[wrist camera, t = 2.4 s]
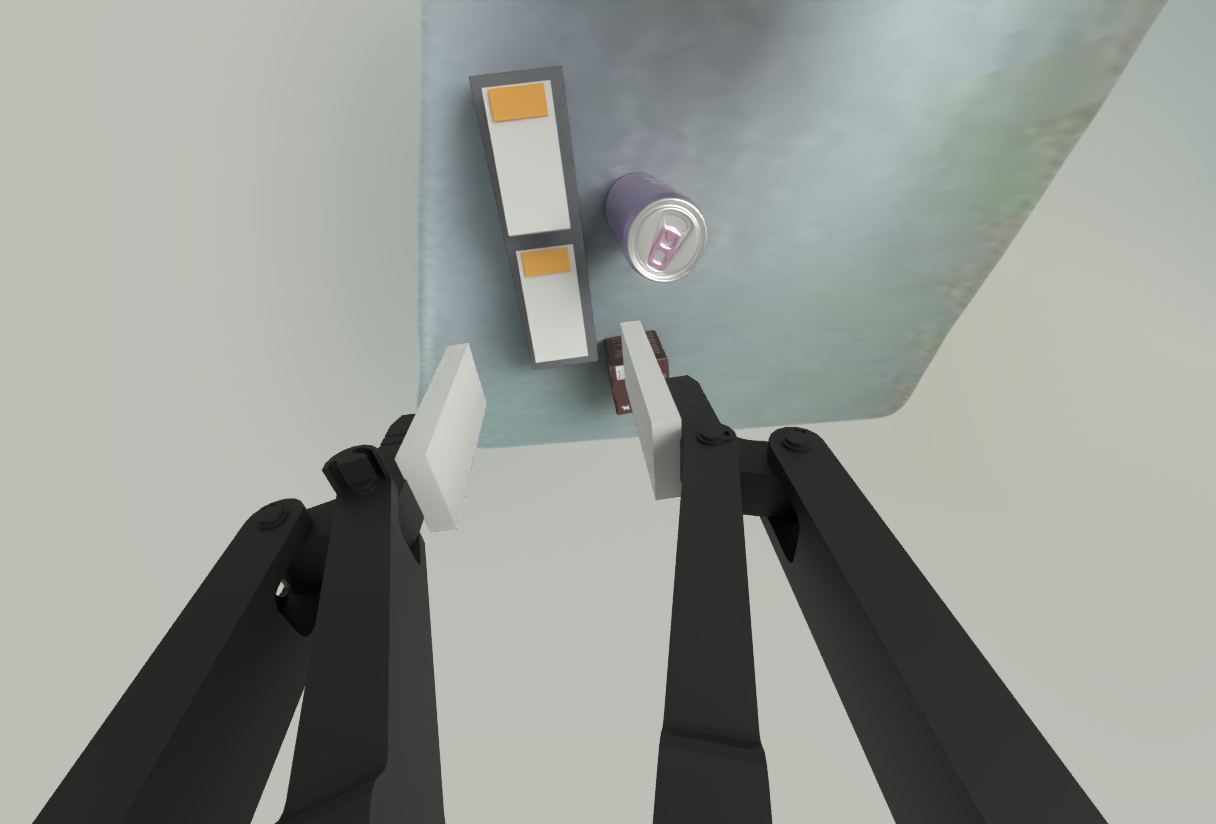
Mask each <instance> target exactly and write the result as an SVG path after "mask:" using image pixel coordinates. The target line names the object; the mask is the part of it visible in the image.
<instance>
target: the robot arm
mask: <svg viewBox="0 0 1216 824" xmlns="http://www.w3.org/2000/svg"><path fill="white" fill-rule="evenodd" d="M620 328H621V340H622V351H623V362H624V373H625V385H626V389H627V393H628V396H629V400H630V404H631V408H632V412H633V415H634V419H635V423H636V427H637V431H638V434H639V438H640V442H641V446H642V450H643V453H644V457H645V461H646V465H647V469H648V472H649V476H650V480H651V484H652V488H653V491H654V495H655V499H656V500H659V499H667V498H674V497H681V501H680V514H679V529H678V540H677V554H676V566H675V580H674V592H673V606H672V619H671V631H670V645H669V657H668V671H667V683H666V697H665V709H664V720H663V727H662V731H661V736H660V744H659V754H658V765H657V778H656V791H655V802H654V803H655V804H654V814H653V824H772V815H771V804H770V791H769V781H768V771H767V763H766V757H765V752H764V749H763V747H762V744H761V740H760V734H759V724H758V709H757V697H756V684H755V669H754V656H753V644H752V630H751V618H750V617H751V616H750V603H749V590H748V577H747V563H746V550H745V537H744V523H743V514H744V515H753V516H760V518H761V520H762V523H763V525H764V527H765V529H766V532H767V534H768V536H769V538H770V540H771V543H772V545H773V547H774V550H775V552H776V554H777V556H778V559H779V561H780V563H781V565H782V568H783V570H784V572H785V574H786V577H787V579H788V581H789V584H790V586H791V588H792V590H793V592H794V595H795V597H796V599H797V601H798V604H799V606H800V608H801V611H802V613H803V615H804V617H805V620H806V622H807V624H808V626H809V628H810V631H811V633H812V635H813V637H814V640H815V642H816V644H817V646H818V649H819V651H820V653H821V656H822V658H823V660H824V662H825V665H826V667H827V669H828V671H829V674H830V676H831V678H832V681H833V683H834V685H835V687H836V690H837V692H838V694H839V696H840V699H841V701H842V703H843V705H844V707H845V709H846V712H847V714H848V717H849V719H850V721H851V723H852V725H853V728H854V730H855V732H856V735H857V737H858V739H859V741H860V743H861V746H862V748H863V750H864V752H865V755H866V757H867V759H868V762H869V764H870V766H871V768H872V771H873V773H874V775H875V778H876V780H877V782H878V784H879V787H880V789H881V791H882V793H883V796H884V798H885V800H886V802H887V804H888V807H889V809H890V811H891V814H892V816H893V818H894V820H895V822H896V824H1108V823H1107V822H1106V820H1105V819H1104V818H1103V816H1102V815H1101V814H1100V812H1099V811H1098V809H1097V808H1096V807H1095V805H1094V804H1093V803H1092V801H1091V800H1090V799H1089V797H1088V796H1087V795H1086V793H1085V792H1084V790H1083V789H1082V788H1081V787H1080V785H1079V784H1078V782H1077V781H1076V780H1075V778H1074V777H1073V776H1072V774H1071V773H1070V772H1069V770H1068V769H1067V768H1066V766H1065V765H1064V764H1063V762H1062V761H1061V760H1060V758H1059V757H1058V756H1057V754H1056V753H1055V751H1054V750H1053V749H1052V748H1051V746H1050V745H1049V744H1048V742H1047V741H1046V739H1045V738H1044V737H1043V735H1042V734H1041V733H1040V731H1039V730H1038V729H1037V727H1036V726H1035V724H1034V723H1033V722H1032V720H1031V719H1030V718H1029V716H1028V715H1027V714H1026V713H1025V711H1024V710H1023V708H1022V707H1021V706H1020V704H1019V703H1018V702H1017V700H1016V699H1015V698H1014V697H1013V695H1012V694H1011V692H1010V691H1009V689H1008V688H1007V687H1006V685H1005V684H1004V683H1003V682H1002V680H1001V679H1000V677H999V676H998V675H997V673H996V672H995V671H994V669H993V668H992V667H991V665H990V664H989V663H988V661H987V660H986V659H985V657H984V656H983V655H982V653H981V652H980V650H979V649H978V648H977V646H976V645H975V644H974V642H973V641H972V640H971V638H970V637H969V636H968V634H967V633H966V632H965V630H964V629H963V628H962V626H961V625H960V623H959V622H958V621H957V619H956V618H955V617H954V615H953V614H952V613H951V611H950V610H949V609H948V607H947V606H946V605H945V603H944V602H943V601H942V599H941V598H940V597H939V595H938V594H937V593H936V591H935V590H934V589H933V587H932V586H931V584H930V583H929V582H928V580H927V579H926V578H925V576H924V575H923V574H922V573H921V571H920V570H919V568H918V567H917V566H916V564H915V563H914V562H913V560H912V559H911V558H910V556H909V555H908V553H907V552H906V551H905V550H904V548H903V547H902V545H901V544H900V543H899V541H898V540H897V539H896V538H895V536H894V535H893V533H892V532H891V531H890V529H889V528H888V527H887V526H886V524H885V522H884V521H883V520H882V518H881V517H880V516H879V514H878V513H877V512H876V510H875V509H874V508H873V506H872V505H871V504H870V502H869V501H868V500H867V498H866V497H865V496H864V494H863V493H862V492H861V490H860V489H859V488H858V486H857V485H856V484H855V482H854V481H853V479H852V478H851V477H850V475H849V474H848V473H847V471H846V470H845V469H844V467H843V466H842V465H841V463H840V462H839V461H838V459H837V458H836V456H835V455H834V454H833V453H832V451H831V450H830V448H828V446H827V444H826V443H825V442H824V440H823V439H822V438H820V436H818V435H817V434H816V433H814V432H812V431H809V430H807V429H803V428H798V427H784V428H780V429H777V430H776V431H774V432H773V433H771V435H770V437H769V441H767V442H766V441H754V440H746V439H742V438H738V437H737V436H736V434H735V432H734V431H733V430H732V429H731V428H730V427H728V426H726V425H723V424H721V423H720V421H719V420H718V418H717V416H716V414H715V412H714V410H713V408H712V407H711V405H710V403H709V401H708V400H707V397H706V396H705V394H704V393H703V390H702V388H701V386H700V384H699V383H698V382H697V381H696V380H694V379H693V378H691V377H690V376H688V375H686V376H679V377H672V378H664V376H663V374H662V372H661V369H660V367H659V364H658V362H657V360H656V357H655V355H654V352H653V350H652V348H651V345H650V343H649V341H648V338H647V336H646V333H645V331H644V329H643V326H642V324H641V321H640V320H637V321H630V322H622V323H620ZM486 405H487V403H486V400H485V396H484V393H483V390H482V386H481V383H480V380H479V376H478V373H477V370H476V367H475V363H474V360H473V357H472V353H471V350H470V347H469V343H464V344H456V345H449V346H448V347H447V349H446V351H445V353H444V355H443V357H442V359H441V361H440V364H439V366H438V368H437V370H436V372H435V374H434V376H433V378H432V381H431V383H430V385H429V387H428V389H427V391H426V393H425V395H424V398H423V400H422V402H421V404H420V406H419V408H418V410H417V413H416V414H409V415H402V416H401V417H400V418H399V419H397V420H396V421H395V422H394V423H393V424H392V425H391V426H390V428H389V429H388V432H387V433H386V435H385V438H384V439H383V441H382V443H381V447H379V448H376V447H374V446H372V445H360V446H354V447H351V448H348V449H346V450H343V451H341V452H339V453H338V454H336V455H334V456H333V457H332V458H331V459H329V461H328V462H326V463H325V465H324V467H323V469H322V471H323V473H324V474H325V476H326V477H327V479H328V481H329V482H330V484H331V486H332V487H333V489H334V491H335V492H336V494H337V496H336V499H335V500H332V501H329V502H326V503H323V504H320V505H318V506H315V507H312V508H309V509H306V508H305V506H304V505H303V503H302V502H301V501H300V500H297V499H283V500H279V501H276V502H273V503H270V504H269V505H266V506H264V507H263V508H261V509H260V510H259V511H257V512H256V513H254V514H253V515H252V516H251V517H250V518H249V519H248V520H247V521H246V522H245V523H244V525H243V526H242V527H241V529H240V530H239V532H238V533H237V535H236V536H235V538H234V539H233V540H232V542H231V543H230V544H229V546H228V547H227V549H226V550H225V551H224V553H223V554H222V556H221V557H220V559H219V560H218V561H217V563H216V564H215V566H214V567H213V569H212V570H211V571H210V573H209V574H208V576H207V577H206V578H205V580H204V581H203V583H202V584H201V585H200V587H199V588H198V590H197V591H196V593H195V594H194V596H193V597H192V598H191V600H190V601H189V603H188V604H187V605H186V607H185V608H184V610H183V611H182V612H181V614H180V615H179V617H178V618H177V620H176V621H175V622H174V624H173V625H172V627H171V628H170V629H169V631H168V632H167V634H166V635H165V637H164V638H163V639H162V641H161V642H160V644H159V645H158V646H157V648H156V649H155V651H154V652H153V654H152V655H151V656H150V658H149V659H148V661H147V662H146V663H145V665H144V666H143V668H142V669H141V670H140V672H139V673H138V675H137V676H136V678H135V679H134V680H133V682H132V683H131V685H130V686H129V687H128V689H127V690H126V692H125V693H124V694H123V696H122V697H121V699H120V700H119V702H118V703H117V704H116V706H115V707H114V709H113V710H112V711H111V713H110V714H109V716H108V717H107V719H106V720H105V722H104V723H103V724H102V726H101V727H100V729H99V730H98V731H97V733H96V734H95V735H94V737H93V738H92V740H91V741H90V743H89V744H88V746H87V747H86V748H85V750H84V751H83V752H82V754H81V755H80V757H79V758H78V760H77V761H76V762H75V764H74V765H73V767H72V768H71V769H70V771H69V772H68V774H67V775H66V777H65V778H64V779H63V781H62V782H61V784H60V785H59V787H58V788H57V789H56V791H55V792H54V793H53V795H52V796H51V798H50V799H49V801H48V802H47V803H46V805H45V806H44V808H43V809H42V810H41V812H40V813H39V815H38V816H37V818H36V819H35V820H34V822H33V823H32V824H250V823H251V821H252V818H253V815H254V813H255V811H256V808H257V806H258V803H259V801H260V798H261V795H262V793H263V790H264V788H265V785H266V783H267V780H268V778H269V775H270V773H271V770H272V768H273V765H274V763H275V760H276V758H277V755H278V752H279V750H280V748H281V745H282V742H283V740H284V738H285V735H286V732H287V730H288V727H289V725H290V722H291V720H292V717H293V715H294V712H295V710H296V707H297V705H298V702H299V700H300V697H301V695H302V692H303V690H304V687H305V690H304V696H303V702H302V708H301V714H300V721H299V726H298V732H297V738H296V744H295V751H294V757H293V763H292V769H291V775H290V781H289V787H288V793H287V799H286V803H285V807H284V811H283V813H282V815H281V817H280V819H279V821H278V822H276V823H275V824H445V817H444V807H443V794H442V779H441V765H440V751H439V737H438V723H437V709H436V695H435V682H434V681H435V680H434V666H433V653H432V638H431V624H430V610H429V596H428V582H427V568H426V554H425V543H424V540H423V538H422V536H421V534H420V528H421V525H422V522H423V519H424V521H425V523H426V525H427V527H428V529H429V531H430V532H438V531H444V530H451V529H457V527H458V523H459V518H460V514H461V510H462V506H463V502H464V498H465V493H466V489H467V484H468V481H469V477H470V472H471V468H472V464H473V460H474V455H475V451H476V447H477V443H478V439H479V435H480V431H481V426H482V422H483V418H484V414H485V410H486ZM281 582H282V583H283V585H284V588H283V590H282V592H281V593H280V595H279V596H277V595H276V592H277V589H278V586H279V585H280V583H281Z"/></svg>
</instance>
